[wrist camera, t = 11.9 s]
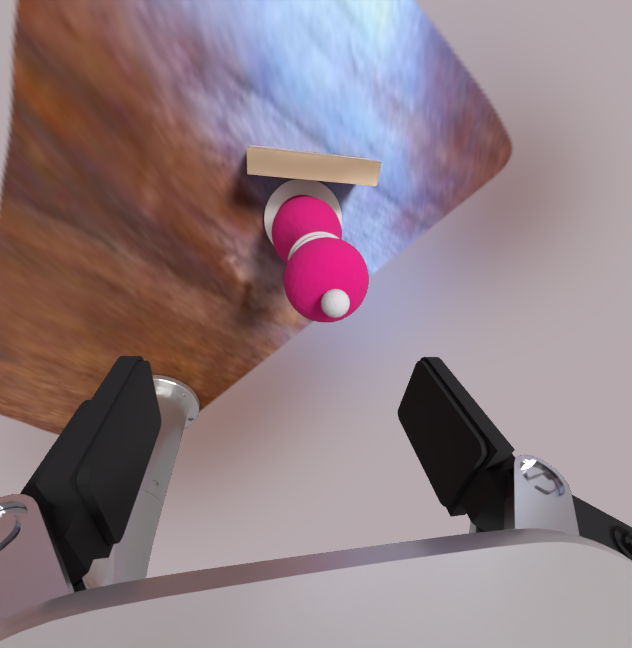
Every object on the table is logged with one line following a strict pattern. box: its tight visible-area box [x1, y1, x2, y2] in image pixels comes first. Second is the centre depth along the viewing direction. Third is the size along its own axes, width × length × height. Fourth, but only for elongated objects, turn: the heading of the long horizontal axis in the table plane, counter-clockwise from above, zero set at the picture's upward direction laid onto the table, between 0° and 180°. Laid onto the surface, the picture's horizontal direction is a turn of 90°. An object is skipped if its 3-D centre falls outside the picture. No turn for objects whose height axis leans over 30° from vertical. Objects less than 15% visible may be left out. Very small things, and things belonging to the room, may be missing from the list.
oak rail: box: [247, 145, 381, 186], centre depth 29 cm, size 2×12×6 cm, turn 84°
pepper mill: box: [271, 195, 369, 322], centre depth 26 cm, size 7×7×20 cm
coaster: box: [264, 179, 342, 245], centre depth 34 cm, size 9×9×1 cm
